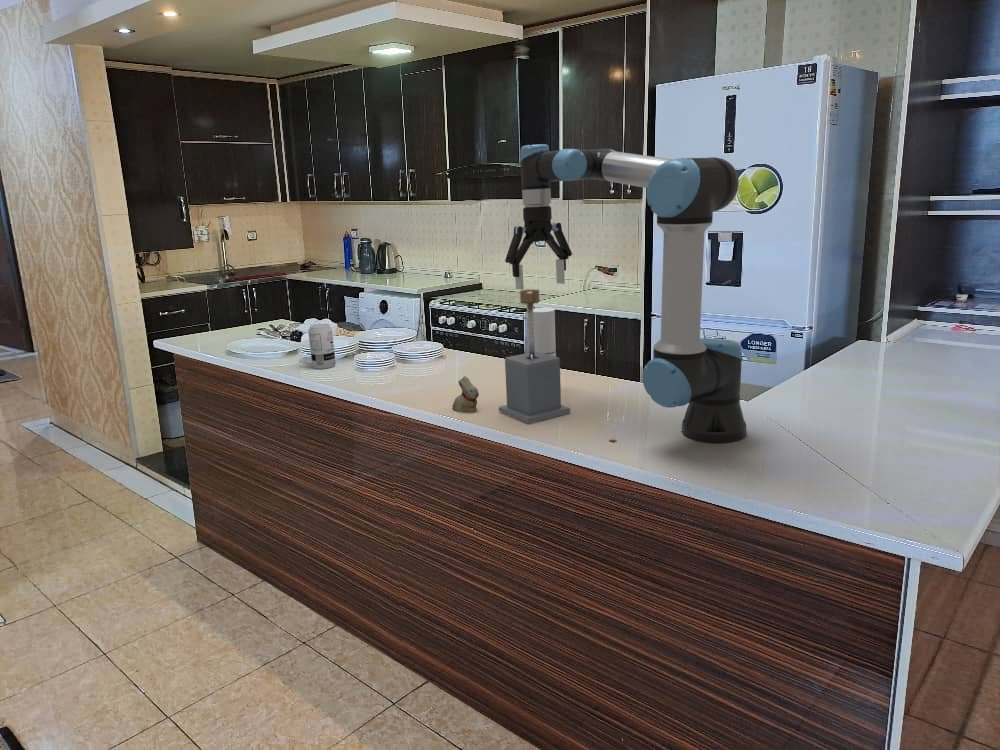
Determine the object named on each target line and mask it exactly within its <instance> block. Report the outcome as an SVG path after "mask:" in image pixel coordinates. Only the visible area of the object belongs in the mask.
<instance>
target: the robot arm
mask: <svg viewBox="0 0 1000 750" xmlns="http://www.w3.org/2000/svg"><path fill="white" fill-rule="evenodd" d="M519 159H520V161H519V165H520V176H521V189H522V190H521V192H522V206H524V207H523V209H522V217H523V222H524V225H523V226H519V225H518V226H517V225H516V226H514V227H513V236H512V239H511V243H510V245H509V248H508V251H507V252H506V257H505V260H504V262H505V263H507V264H510V265H511V267H512V269H511V270H512V271H511V272H512V277H513V278H514V279H515V289H516V290H520V291H522V290H525V288H524V272H523V264H520V263H521V262H522V260H523V259H524V257H525V255H526V254H527V252H528V250H529V248H530V247H531V246H532V244H534V243H538V242H545V243H546V244H547V245H548V246H549V248H550V249H551V251H553V252H554V254H555V256H556V257H557V258H558V259H557V258H556V259H555V271H556V272H555V275H556V283H557V284H560V285H561V284H565V271H566V270H567V260H568V259H569V257H571V256H572V255H573V252H572V250H571V248H570V245H569V244H568V240H567V239H566V236H565V235H564V232H563V228H562V223H561V222H553V223H552V218H553V217H552V206H550V204H551V203H552V194H551V193H552V192H551V182H573V181H585V180H586V181H587V180H599V181H604V182H609V183H610V182H612V183H618V184H622V185H627V186H633V187H638V188H639V187H640V188H643V189H646V191H645V192H646V195H645V196H646V202H647V204H648V205H647V206H649V207H650V210H651V212H653V214H655V215H656V226H658V227H659V228H660V229H661V230H662V232H663V239H662V240H663V241H662V242H663V246H662V249H663V250H662V280H661V281H662V284H661V316H660V339H659V340H658V341H657V342H655V344H653V354H652V356H653V357H652V359H650V360H649V361H648V362H647V363H646V365H644V368H643V370H642V374H641V376H642V377H641V378H642V384H643V388H644V390H645V392H646V394H648V395H649V397H650V398H651V400H652V401H653V402H654V403H656V404H657V405H659V406H661V407H663V408H669V409H670V408H672V409H673V408H676V407H677V408H678V407H684V406H686V405H687V408H686V411H685V414H684V418H683V419H682V422H681V433H682V434H683V435H684V436H685V437H687V438H690V439H692V440H695V441H700V442H705V443H718V444H719V443H731V442H736V441H739V440H742V439H744V438H745V437H746V435H747V423H746V421H745V419H744V414H743V411H742V407H741V383H742V382H741V381H742V379H741V377H742V361H743V357H742V346H741V345H740V344H739V343H737V342H735V341H731V340H727V339H726V340H725V339H720V338H719V339H718V338H704V337H703V338H701V325H702V324H701V323H702V322H701V316H702V297H703V296H702V295H703V274H704V256H705V255H704V251H705V232H706V231H707V229H708V228H709V227H710V226H711V225H712V224H713V216H714V215H713V214H714V212H718V211H720V210H722V209H725V208H726V207H728V206H729V205H730V203H732V202H733V201H734V199H735V198H736V196H737V193H738V191H739V185H740V180H739V174H738V172H737V170H736V168H735V167H734V165H732V163H731V162H729V161H727V160H726V159H724V158H722V157H721V158H720V157H714V156H713V157H712V156H711V157H679V158H673V159H672V158H667V157H666V158H665V157H658V156H652V155H643V154H638V153H631V152H622V151H616V150H614V149H611V148H610V149H609V148H599V149H598V148H597V149H578V148H563V149H559V150H552V151H550V147H549V145H548V144H545V143H542V144H527V145H522V146H521V148H520V158H519ZM551 232H553V234H554V235H552V233H551ZM523 235H525V236H524V237H523ZM554 236H555V237H554ZM555 239H556V240H555ZM521 242H522V243H521Z"/></svg>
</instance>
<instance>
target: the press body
mask: <svg viewBox="0 0 1000 750" xmlns="http://www.w3.org/2000/svg"><path fill="white" fill-rule="evenodd" d="M560 361H561V358H560V357H558V356H556V357H555V356H551V355H547V354H544V353H540V352H537V351H536V352H535V359H532V360H530V359H529V352H526V353H522V354H521V353H520V354H516V355H510V356H508V357H504V365H505V366H504V367H505V369H504V370H505V372H504V373H505V386H506V387H505V390H506V391H505V392H506V405H505V404H504V405H500V406H498V412H499V411H500V412H502V413H501V414H503V413H505V414H507V415H509V416H508V417H510V416H511V417H510V418H512V417H514V418H516V419H515V420H517V419H518V420H517V421H519V420H520V421H519V422H521V421H522V422H521V423H524V424H526V423H527V424H526V425H531V424H534V423H533V422H535V423H538V422H537V421H539V422H542V421H541V420H543V421H545V419H547V420H550V419H554V418H557V417H562V416H564V415H569V414H571V407H568V406H565V405H562V397H561V394H562V393H561V390H562V389H561V362H560ZM500 412H499V413H500ZM505 414H504V415H505ZM507 415H506V416H507ZM514 418H513V419H514ZM530 423H531V424H530Z"/></svg>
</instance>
